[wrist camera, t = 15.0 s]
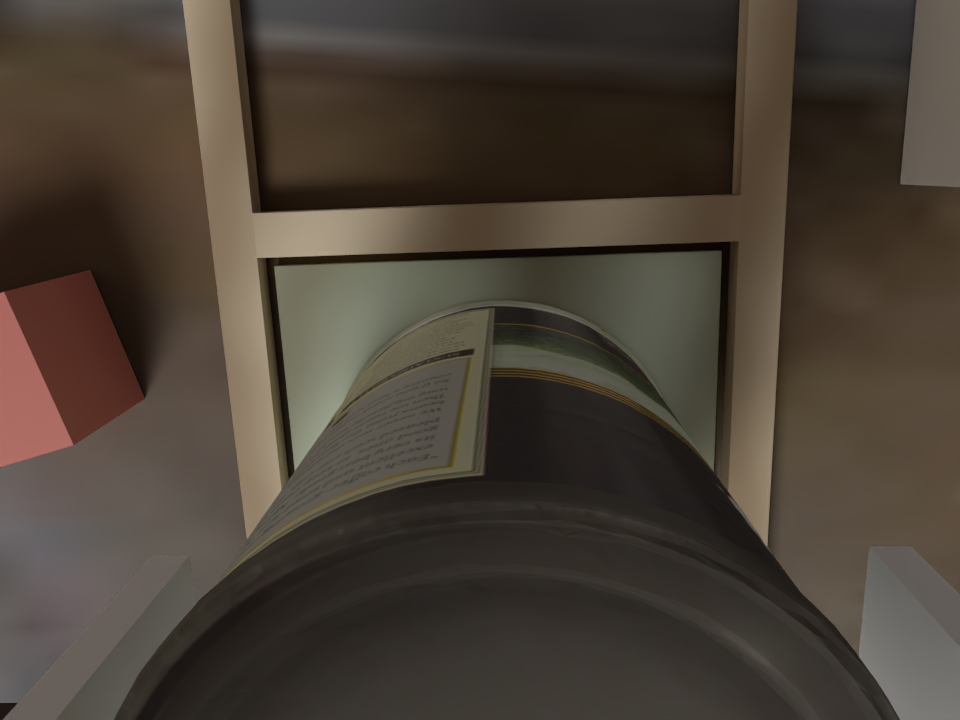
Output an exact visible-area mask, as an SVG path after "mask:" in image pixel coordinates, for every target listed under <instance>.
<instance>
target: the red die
mask: <svg viewBox="0 0 960 720" xmlns="http://www.w3.org/2000/svg"><path fill="white" fill-rule="evenodd" d="M143 399H145V397H144V395H143V393H142V390H141V388H140V386H139V383H138V381H137V379H136V376H135V374H134V371H133V369H132V367H131V364H130V362H129V360H128V357H127V355H126V353H125V350H124V348H123V346H122V343H121V341H120V339H119V336H118V334H117V331H116V329H115V327H114V324H113V322H112V320H111V317H110V315H109V313H108V310H107V308H106V306H105V303H104V301H103V299H102V296H101V294H100V292H99V289H98V287H97V284H96V282H95V280H94V277H93V275H92V273H91V270H87V271H84V272H80V273H76V274H72V275H68V276H64V277H60V278H56V279H52V280H48V281H44V282H40V283H36V284H32V285H29V286H25V287H21V288H17V289H13V290H9V291H5V292H2V293H0V467H2V466H5V465H9V464H12V463H15V462H19V461H22V460H25V459H29V458H32V457H35V456H39V455H42V454H45V453H49V452H52V451H56V450H59V449H62V448H66V447H69V446H72V445H75V444H76V443H78V442H79V441H81V440H82V439H84V438H85V437H87V436H88V435H90V434H91V433H93V432H94V431H96V430H97V429H99V428H100V427H102V426H104V425H105V424H107V423H108V422H110V421H111V420H113V419H114V418H116V417H117V416H119V415H120V414H122V413H123V412H125V411H126V410H128V409H130V408H131V407H133V406H134V405H136V404H137V403H139V402H140V401H142V400H143Z"/></svg>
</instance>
